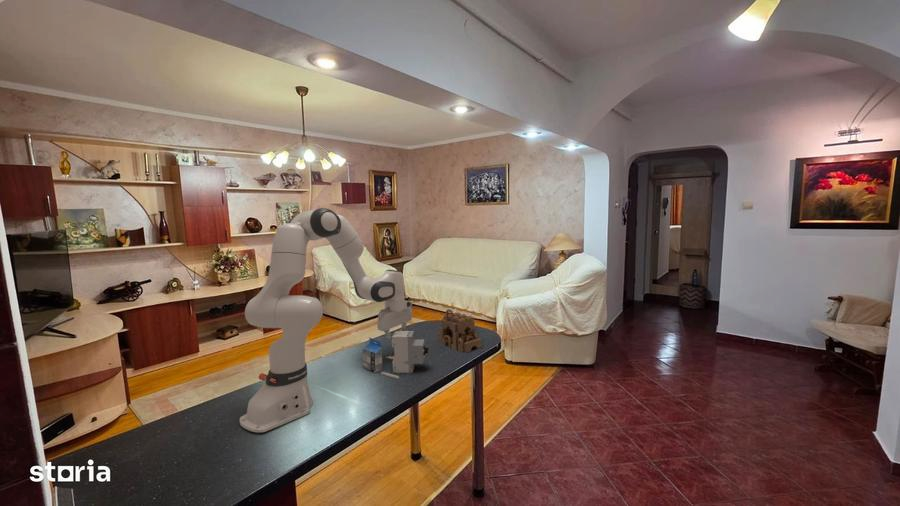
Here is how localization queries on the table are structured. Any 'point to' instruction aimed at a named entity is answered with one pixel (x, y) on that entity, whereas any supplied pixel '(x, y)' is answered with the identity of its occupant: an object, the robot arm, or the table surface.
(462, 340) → the wooden puzzle
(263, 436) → the table surface
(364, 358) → the label tape box
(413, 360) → the circuit breaker
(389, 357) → the cork pad
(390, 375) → the peg
